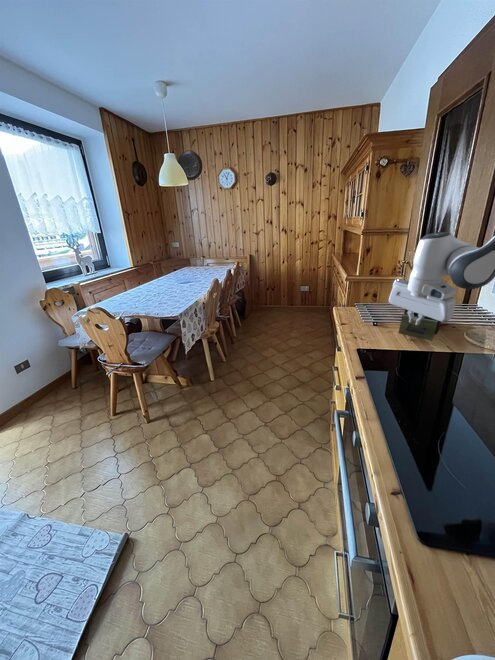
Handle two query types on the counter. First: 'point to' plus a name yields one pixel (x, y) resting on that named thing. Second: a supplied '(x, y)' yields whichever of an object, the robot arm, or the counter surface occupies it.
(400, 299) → the robot arm
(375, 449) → the counter surface
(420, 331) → the drawer
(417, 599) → the counter surface
